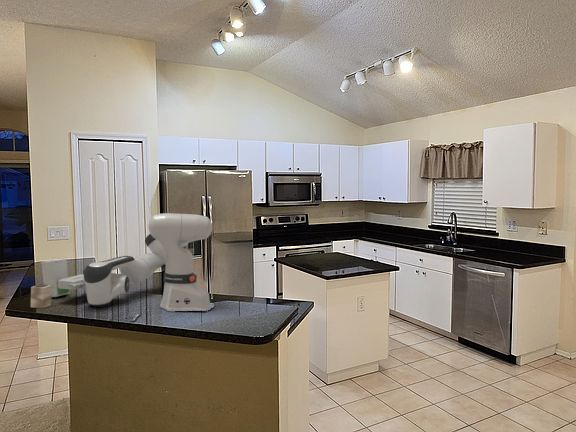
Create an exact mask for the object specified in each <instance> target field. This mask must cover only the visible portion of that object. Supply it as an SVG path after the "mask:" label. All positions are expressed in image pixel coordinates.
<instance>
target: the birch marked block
mask: <svg viewBox="0 0 576 432" xmlns="http://www.w3.org/2000/svg"><path fill="white" fill-rule="evenodd" d="M51 290H52V285H44V284H37V285H33V286H31V287H30V308H35V309H45V308H47V307H50V306H51V305H52V297H51Z"/></svg>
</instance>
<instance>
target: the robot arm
mask: <svg viewBox="0 0 576 432" xmlns="http://www.w3.org/2000/svg"><path fill="white" fill-rule="evenodd" d="M148 221H149V222H148V232H149V233H147V235H146V237H145V239H144V244H145V245H146V247H147V248H149V251H150V252H151V253H150V252H149V253H148V252H147V253H143V254H141V255H137V256H136V257H133V256H131V255H122V256H117V257H113V258H110V259H107V260H106V259H105V260H102V261H95V262H90V263H88V264H87V265H86V267H84V269H83V270H82V274H81V273H80V274H77V275H73V276H68V277H63V278H60V280H59V282H58V288H60V289H70V290H78V289H81V288H82V289H83V290H84V292H86V299H87V303H88V305H90V306H92V307H96V308H103V307H106V306H108V305H109V304H110V303H112V301H113V300H114V299H115V298H116V297H118V296H120V295H126V294H127V293H128V292H129V289H130V283H131V284H139V283H142V282H143V281H145V280H146V279H147V278H149V277H151V276H152V275H153V274H154V273H155V272H156V271H157V270H158V269H159V268H161V271H162V272H163V271H164V274H163V293H162V298H161V301H160V304H159V307H160V308H161V309H164V310H165V311H166V312H175V311H184V310H206V309H205V308H208V307H210V302H211V300H210V293H209V292H208V290H207V289H205V287H203V286H202V285H201V284H199V282H198V281H197V278H198V274H195V273H194V272H193V267H194V264H193V263H194V255H193V253H192V252H191V251H190V250H189V249H187V248H185V247H187V245H189V243H192V242H196V241H202V240H207V239H208V238H209V237H210V236H211V234H212V232H213V223H212V221H211V220H210V218H209V217H208V216H205V215H200V214H194V213H193V214H190V213H172V212H171V213H169V212H168V213H167V212H165V213H164V212H163V213H158V214H153V216H151V217H150V219H149V220H148ZM118 269H119V271H120V273H116V272H115V273H114V272H113V271H115V270H118Z"/></svg>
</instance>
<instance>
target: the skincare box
mask: <svg viewBox="0 0 576 432" xmlns="http://www.w3.org/2000/svg"><path fill="white" fill-rule="evenodd" d="M68 270H69V269H68V262H67V258H61V259H60V258H59V259H52V260H44V261H41V271H42V281H43V285H52V290H51V298H57V297H60V296H65V295H68V294H71V291H70V290H71V289H60V288H58V282H59V280H60V278H63V277H69V272H68Z"/></svg>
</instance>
